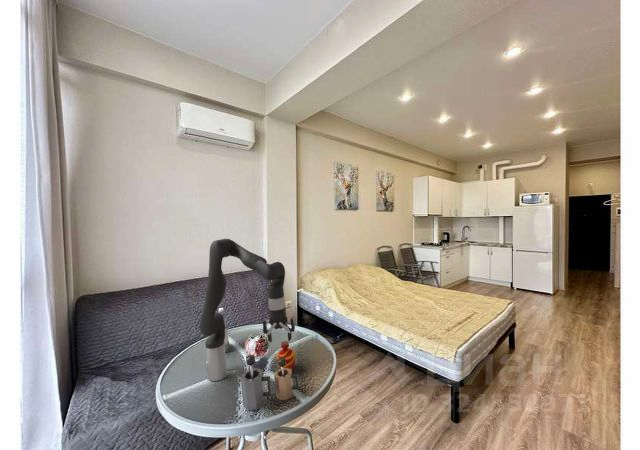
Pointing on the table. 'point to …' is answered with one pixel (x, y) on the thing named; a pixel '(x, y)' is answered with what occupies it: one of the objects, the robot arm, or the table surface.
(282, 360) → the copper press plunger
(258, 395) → the steel press carafe
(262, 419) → the table surface
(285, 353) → the potion bottle
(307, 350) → the table surface
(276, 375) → the tan handled cylinder
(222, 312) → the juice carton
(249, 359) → the steel press plunger
